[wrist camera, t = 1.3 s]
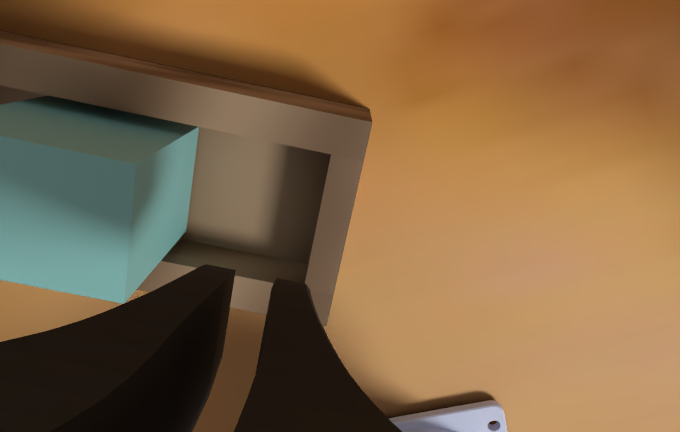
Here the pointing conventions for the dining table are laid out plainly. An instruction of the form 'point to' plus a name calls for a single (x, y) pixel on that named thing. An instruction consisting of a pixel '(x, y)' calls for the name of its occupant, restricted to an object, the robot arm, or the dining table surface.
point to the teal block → (90, 195)
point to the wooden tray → (226, 163)
